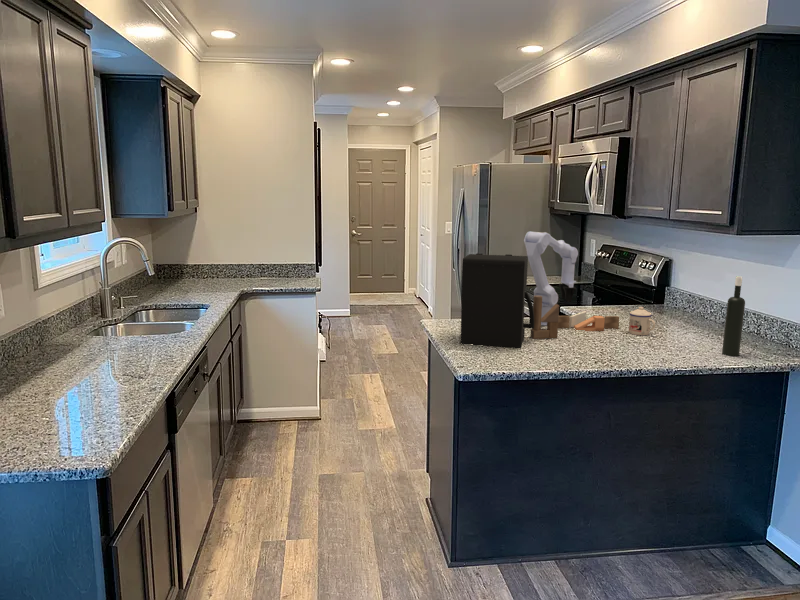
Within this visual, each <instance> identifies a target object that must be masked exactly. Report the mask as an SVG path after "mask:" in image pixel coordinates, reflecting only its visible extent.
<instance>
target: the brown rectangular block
mask: <svg viewBox="0 0 800 600" xmlns="http://www.w3.org/2000/svg"><path fill="white" fill-rule="evenodd" d="M570 316H571V315H559V319H558V329H566V328H569V329H570V327H569V322H570ZM604 318H605V322H604V328H605V329H604V330H618V329H619V324H620V316H619V315H604ZM612 328H613V329H612Z"/></svg>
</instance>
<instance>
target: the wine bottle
mask: <svg viewBox="0 0 800 600" xmlns="http://www.w3.org/2000/svg"><path fill="white" fill-rule="evenodd" d="M742 283H743V276H740V275H738V276H736V277H735V281H734V293H733V296H731V297H729V298H728V299H727V304H726V312H725V313H726V314H725V323H724V330H723V331H724V332H723V341H722V348H721V349H722V351H721V354H722V355H724V356H727V357H739V356H740V352H741V342H742V332H743V325H744V315H745V307H746V300H745V299H744V298H743V297H741V290H742Z"/></svg>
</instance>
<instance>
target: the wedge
mask: <svg viewBox="0 0 800 600" xmlns="http://www.w3.org/2000/svg"><path fill="white" fill-rule="evenodd" d="M604 322H605V316H603V315H592V316H590V317H589V318H586V320H585V321H583V322H581V323H579V324H577V325H574V327H573V329H574V328H575V329H576V330H585V331H584V332H605V329H604ZM590 324H591V325H590ZM575 329H574V330H575ZM576 330H575V331H576Z"/></svg>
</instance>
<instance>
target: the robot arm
mask: <svg viewBox="0 0 800 600" xmlns="http://www.w3.org/2000/svg"><path fill="white" fill-rule="evenodd" d="M523 243H524V247H525V250H526V256H528V264H529V267H530V270H531V272H532V276H533V279H534V283H535V286H536V287H535V288H534V290H533V297H534V296H536V295H539V296H542V315H541V318H542V317H543V316H544V315H545V314H546V313H547V312H548V311H549V310H550V309H551V308H552V307H553V306H554V305H555V304H558V301H559V294H558V293H557V292H556V289H555V288H554V287H553V286H552V285H550V284H549V283H550V282H549V280H548V277H547V273H546V270H545V267H544V263H543V260H542V256H541V255H543V254H544V253H545V250H546V249H547V247H548V246H549V247H551V248H552V250H553V251H554V252H555V253H557V254H558V255H559V256H560V258H562V260H561V262H562V263H561V277H560V278H561V279H560V283H559V284H558V286H559V289H560V294H561V299H564V300H565V301H566V302H567V303H570V302H572V300H573V296H574V293H575V292H576V290H577V287H575V286H574V285H575V284H576V283H577V280H574V279H575V269H576V268H575V267H576V266H575V265H576V262H577V258H578V256H579V251H578V249H577V248H576V247H575V246H571V245H570V244H569V243H566V242H565V240H563V239H560V240H559V239H558V240H557V239H555V238H554V237H553V236H551V233H548V232H546V231H544V232H538V231H531V230H530V231H527V232H526V234H525V236H524V239H523ZM541 326H547V322H541Z"/></svg>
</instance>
